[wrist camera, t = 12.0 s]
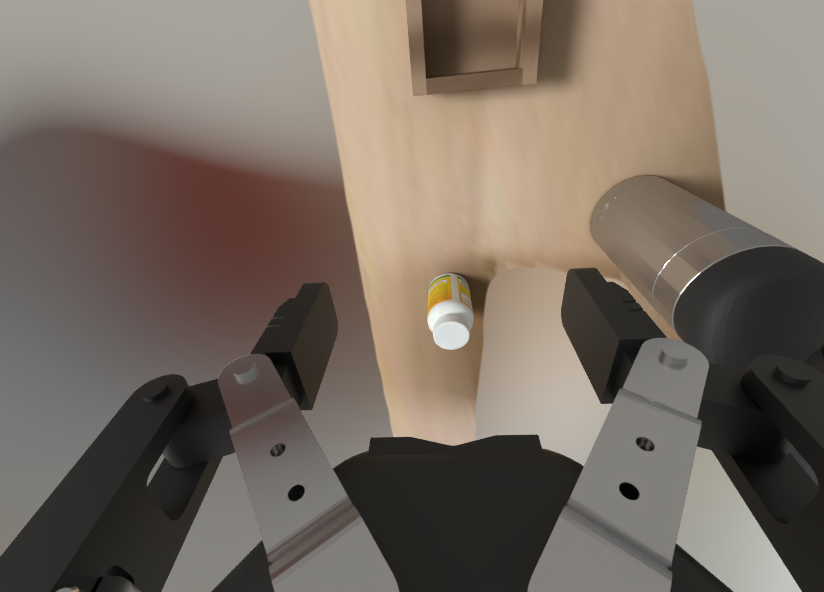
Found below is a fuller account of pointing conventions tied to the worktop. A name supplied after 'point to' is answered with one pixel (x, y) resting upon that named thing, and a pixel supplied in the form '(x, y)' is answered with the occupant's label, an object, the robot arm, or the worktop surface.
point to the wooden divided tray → (473, 44)
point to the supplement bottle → (450, 311)
